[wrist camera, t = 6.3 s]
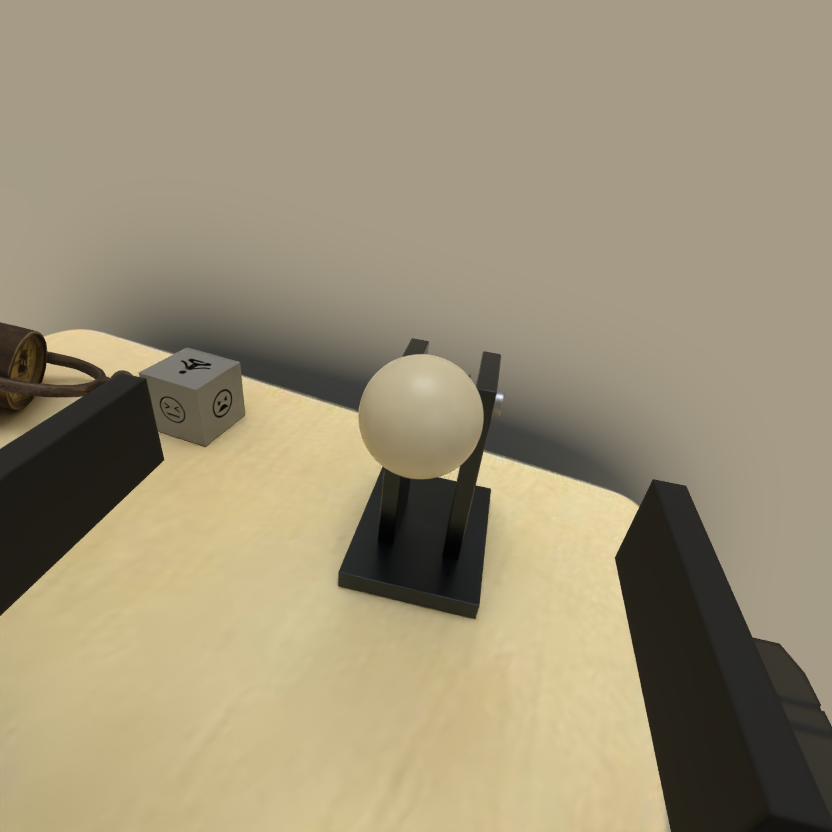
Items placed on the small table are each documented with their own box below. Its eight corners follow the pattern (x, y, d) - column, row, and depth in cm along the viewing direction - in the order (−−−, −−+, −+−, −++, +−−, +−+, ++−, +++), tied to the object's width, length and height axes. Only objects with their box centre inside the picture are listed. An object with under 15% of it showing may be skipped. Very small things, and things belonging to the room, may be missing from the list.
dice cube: (245, 415, 41) (239, 362, 38) (205, 446, 37) (196, 389, 34) (195, 399, 42) (187, 347, 40) (151, 428, 38) (138, 372, 35)
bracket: (475, 619, 27) (529, 431, 20) (338, 586, 28) (344, 394, 21) (487, 500, 35) (529, 339, 28) (381, 478, 36) (396, 315, 29)
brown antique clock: (9, 304, 42) (-131, 320, 32) (146, 314, 40) (41, 333, 31) (27, 384, 44) (-98, 421, 35) (157, 397, 43) (62, 438, 33)
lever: (468, 507, 13) (497, 367, 13) (333, 478, 13) (355, 341, 13) (474, 431, 27) (487, 364, 27) (408, 417, 28) (420, 351, 27)
